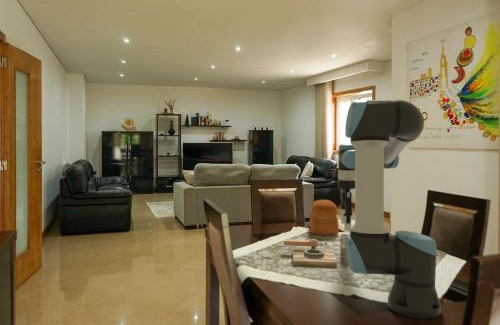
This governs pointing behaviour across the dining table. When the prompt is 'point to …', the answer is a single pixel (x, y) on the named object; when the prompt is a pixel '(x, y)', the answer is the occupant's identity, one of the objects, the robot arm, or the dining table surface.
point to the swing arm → (301, 243)
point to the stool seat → (314, 257)
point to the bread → (324, 218)
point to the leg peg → (343, 247)
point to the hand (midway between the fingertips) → (345, 227)
